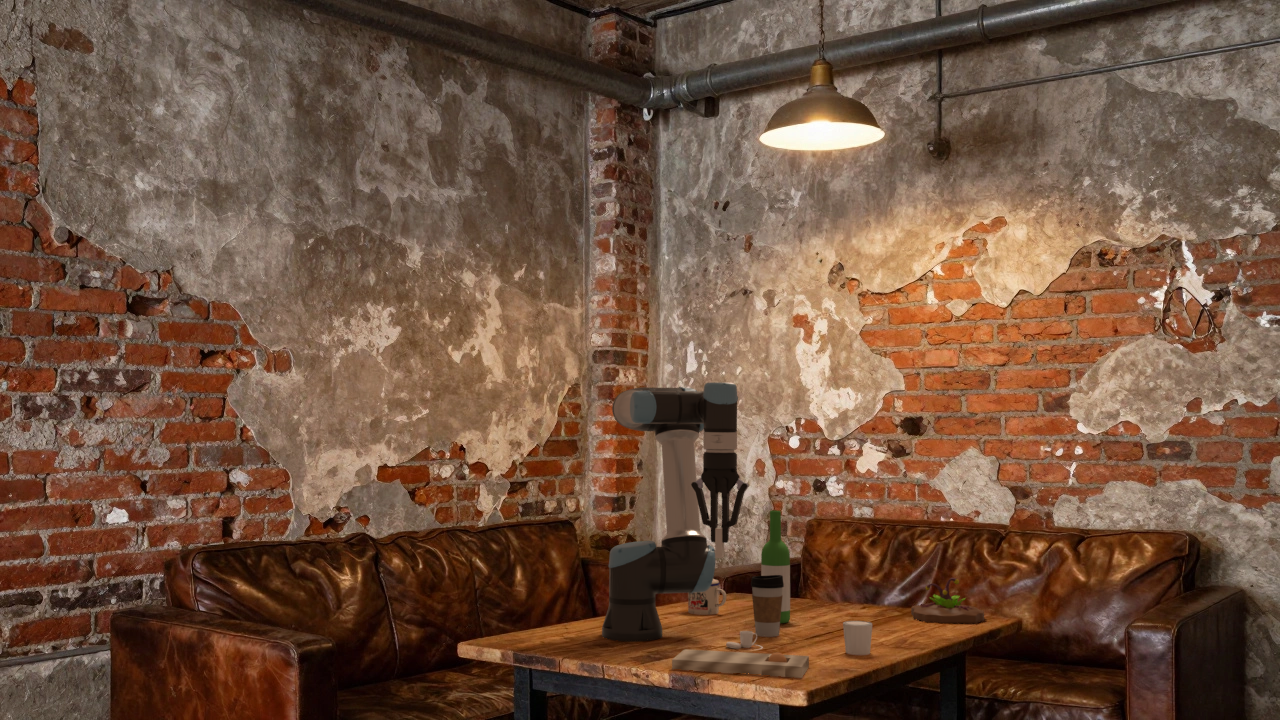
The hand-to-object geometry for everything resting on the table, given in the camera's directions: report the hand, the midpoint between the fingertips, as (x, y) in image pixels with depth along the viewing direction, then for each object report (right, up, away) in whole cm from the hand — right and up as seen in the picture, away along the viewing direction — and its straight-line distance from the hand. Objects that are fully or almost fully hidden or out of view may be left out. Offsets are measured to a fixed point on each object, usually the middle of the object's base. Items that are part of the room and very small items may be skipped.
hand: (719, 557), depth 258 cm
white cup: (+33, -25, +13) cm, 43 cm away
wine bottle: (+19, -27, +56) cm, 65 cm away
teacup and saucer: (+5, -26, +20) cm, 33 cm away
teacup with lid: (+1, -28, +70) cm, 75 cm away
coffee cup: (+15, -26, +35) cm, 46 cm away
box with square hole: (+4, -23, -6) cm, 24 cm away
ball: (+12, -21, -8) cm, 26 cm away
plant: (+68, -28, +65) cm, 99 cm away
